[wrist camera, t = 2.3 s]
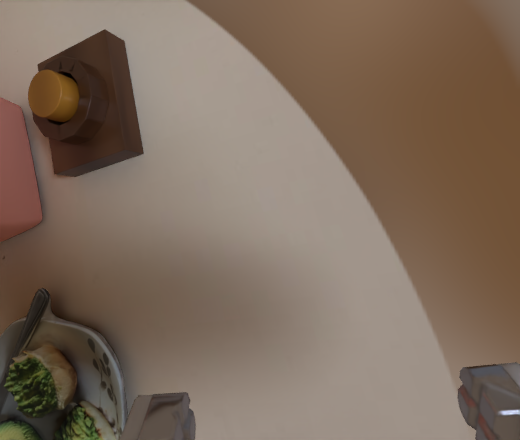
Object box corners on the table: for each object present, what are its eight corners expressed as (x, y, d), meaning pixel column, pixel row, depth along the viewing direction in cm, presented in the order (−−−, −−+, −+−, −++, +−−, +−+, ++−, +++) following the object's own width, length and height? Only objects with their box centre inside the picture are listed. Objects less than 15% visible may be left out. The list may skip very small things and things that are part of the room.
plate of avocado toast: (3, 275, 39) (-49, 283, 34) (142, 299, 32) (99, 312, 28) (-1, 459, 39) (-52, 489, 35) (134, 522, 32) (91, 568, 28)
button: (76, 70, 29) (56, 62, 28) (83, 114, 29) (64, 108, 28) (45, 85, 31) (24, 78, 29) (51, 127, 31) (31, 123, 29)
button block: (124, 40, 32) (86, 18, 28) (143, 153, 32) (107, 145, 28) (59, 73, 35) (17, 56, 32) (75, 176, 35) (34, 172, 31)
